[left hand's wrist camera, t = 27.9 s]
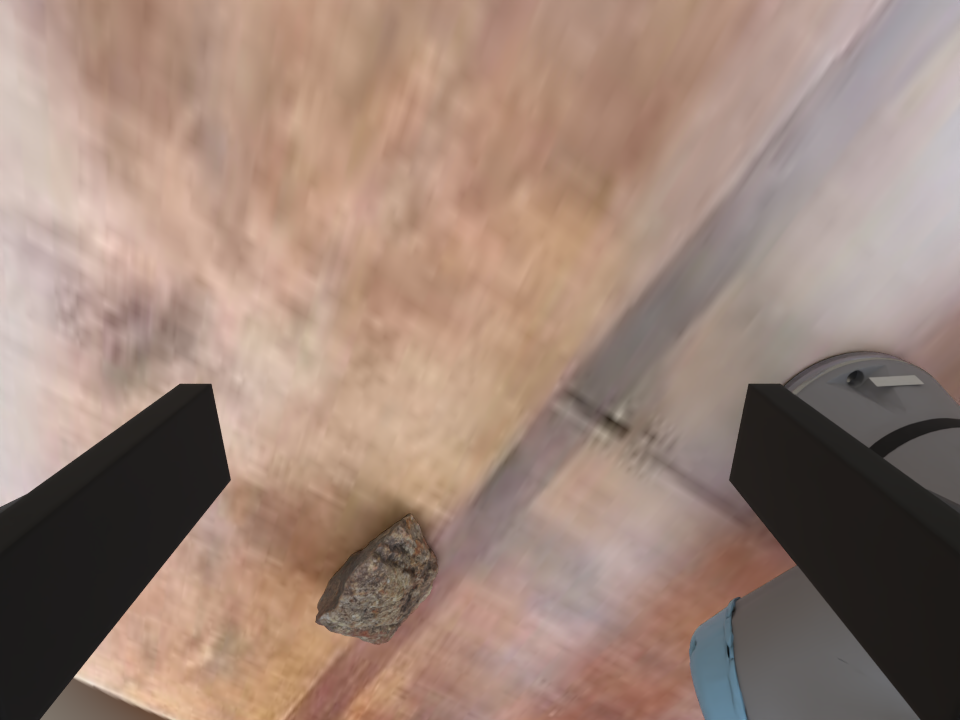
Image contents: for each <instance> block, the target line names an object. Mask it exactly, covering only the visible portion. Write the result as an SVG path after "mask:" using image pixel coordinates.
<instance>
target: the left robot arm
mask: <svg viewBox="0 0 960 720" xmlns="http://www.w3.org/2000/svg"><path fill="white" fill-rule="evenodd" d="M230 480H231V479H230V474H229V469H228V464H227V459H226V454H225V449H224V444H223V439H222V434H221V429H220V424H219V419H218V414H217V409H216V404H215V399H214V394H213V389H212V384H179V385H178V386H176V387H175V388H174V389H172V390H171V391H169V392H168V393H167V394H165V395H164V396H162V397H161V398H160V399H158V400H157V401H156V402H154V403H153V404H151V405H150V406H149V407H147V408H146V409H144V410H143V411H142V412H140V413H139V414H137V415H136V416H135V417H133V418H132V419H131V420H129V421H128V422H126V423H125V424H124V425H122V426H121V427H119V428H118V429H117V430H115V431H114V432H113V433H111V434H110V435H108V436H107V437H106V438H104V439H103V440H101V441H100V442H99V443H97V444H96V445H94V446H93V447H92V448H90V449H89V450H88V451H86V452H85V453H83V454H82V455H81V456H79V457H78V458H76V459H75V460H74V461H72V462H71V463H69V464H68V465H67V466H65V467H64V468H63V469H61V470H60V471H58V472H57V473H56V474H54V475H53V476H51V477H50V478H49V479H47V480H46V481H45V482H43V483H42V484H40V485H39V486H38V487H36V488H35V489H33V490H32V491H31V492H29V493H28V494H26V495H24V496H22V497H20V498H18V499H16V500H14V501H12V502H10V503H8V504H6V505H4V506H1V507H0V720H40V719H41V717H42V716H43V715H44V714H45V712H46V711H47V710H48V709H49V707H50V706H51V705H52V704H53V702H54V701H55V700H56V699H57V697H58V696H59V695H60V694H61V692H62V691H63V690H64V689H65V687H66V686H67V685H68V684H69V682H70V681H71V680H72V679H73V677H74V676H75V675H76V674H77V672H78V671H79V670H80V669H81V667H82V666H83V665H84V663H85V662H86V661H87V660H88V658H89V657H90V656H91V655H92V653H93V652H94V651H95V650H96V648H97V647H98V646H99V645H100V643H101V642H102V641H103V640H104V638H105V637H106V636H107V635H108V633H109V632H110V631H111V630H112V628H113V627H114V626H115V625H116V623H117V622H118V621H119V620H120V618H121V617H122V616H123V615H124V613H125V612H126V611H127V610H128V608H129V607H130V606H131V605H132V603H133V602H134V601H135V600H136V598H137V597H138V596H139V595H140V593H141V592H142V591H143V590H144V588H145V587H146V586H147V585H148V583H149V582H150V581H151V579H152V578H153V577H154V576H155V574H156V573H157V572H158V571H159V569H160V568H161V567H162V566H163V564H164V563H165V562H166V561H167V559H168V558H169V557H170V556H171V554H172V553H173V552H174V551H175V549H176V548H177V547H178V546H179V544H180V543H181V542H182V541H183V539H184V538H185V537H186V536H187V534H188V533H189V532H190V531H191V529H192V528H193V527H194V526H195V524H196V523H197V522H198V521H199V519H200V518H201V517H202V516H203V514H204V513H205V512H206V511H207V509H208V508H209V507H210V506H211V504H212V503H213V502H214V501H215V499H216V498H217V497H218V496H219V494H220V493H221V492H222V490H223V489H224V488H225V487H226V485H227V484H228V483H229V482H230ZM729 480H730V482H731V483H732V484H733V485H734V487H735V488H736V489H737V490H738V492H739V493H740V494H741V496H742V497H743V498H744V499H745V501H746V502H747V503H748V504H749V506H750V507H751V508H752V509H753V511H754V512H755V513H756V514H757V516H758V517H759V518H760V519H761V521H762V522H763V523H764V524H765V526H766V527H767V528H768V529H769V531H770V532H771V533H772V534H773V536H774V537H775V538H776V539H777V541H778V542H779V543H780V544H781V546H782V547H783V548H784V549H785V551H786V552H787V553H788V554H789V556H790V557H791V558H792V559H793V561H794V562H795V563H796V564H797V565H796V566H795V567H793V568H791V569H790V570H788V571H786V572H785V573H783V574H781V575H780V576H778V577H776V578H774V579H773V580H771V581H769V582H768V583H766V584H764V585H763V586H761V587H759V588H758V589H756V590H754V591H753V592H751V593H749V594H747V595H746V596H744V597H742V598H740V597H737V598H735V599H733V600H732V601H730V603H729V605H728V606H727V607H726V608H725V609H723V610H722V611H720V612H719V613H717V614H716V615H715V616H713V617H712V618H710V619H709V620H707V621H706V622H704V623H703V624H701V625H700V626H699V627H698V628H697V629H696V631H695V632H694V634H693V636H692V639H691V642H690V649H689V654H690V669H691V675H692V679H693V684H694V687H695V691H696V695H697V698H698V701H699V704H700V707H701V710H702V713H703V715H704V718H705V720H960V406H959V405H958V404H957V403H956V402H955V401H954V399H953V398H952V397H951V396H950V395H949V394H948V393H947V392H946V391H945V389H944V388H943V387H942V386H941V385H940V384H939V383H938V382H937V381H936V380H935V379H934V378H933V377H932V376H931V375H930V374H928V373H927V372H926V371H924V370H923V369H921V368H919V367H917V366H915V365H913V364H911V363H908V362H906V361H904V360H902V359H900V358H897V357H895V356H892V355H889V354H884V353H879V352H853V353H847V354H842V355H838V356H834V357H831V358H829V359H826V360H823V361H821V362H819V363H816V364H814V365H813V366H811V367H809V368H807V369H806V370H804V371H802V372H801V373H799V374H798V375H797V376H795V377H794V378H793V379H791V380H790V381H789V382H788V383H787V384H786V385H785V386H782V385H781V384H748V389H747V394H746V399H745V404H744V409H743V414H742V419H741V424H740V429H739V434H738V439H737V444H736V449H735V454H734V459H733V464H732V469H731V474H730V479H729Z"/></svg>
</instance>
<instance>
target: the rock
mask: <svg viewBox="0 0 960 720" xmlns="http://www.w3.org/2000/svg"><path fill="white" fill-rule="evenodd" d="M437 573H438V565H437V562H436V557H435V555H434V553H433V551H432V550H431V549H430V548H429V546H428V545H427V543H426V540H425V538H424V537H423V535H422V531H421V529H420V525H419V524H418V523H417V522H416V520H415V519H414V518H413V516H412V514H407V515H406V516H405V517H404V518H402V519H401V520H400V521H398V522H397V523H395V524H393V525H392V526H391V527H390V528H389V529H387V530H386V531H384V532H383V533H381V534H380V535H379V536H378V537H377V538H376V539H374V540H372V541H371V542H370V543H369V545H368V546H367V547H366V548H364V549H363V550H362V551H358V552H356V553H354V554H352V555H351V556H350V557H349V559H348V560H347V561H346V562H345V564H344V565H343V566H342V567H341V569H340V570H339V571H338V572H336V573H335V575H334V576H333V577H332V578H331V579H330V581H329V583H328V586H327V588H326V590H325V592H324V594H323V595H322V597H321V599H320V600H319V602H318V606H317V608H318V611H319V612H318V614H317V616H316V621H315V622H316V623H317V624H319V625H323V626H325V627H326V628H327V629H328V630H329V631H331V632H335V633H339V634H342V635H345V636H352V637H358V638H360V639H361V640H363V641H366V642H370V643H373V644H376V645H380V644H382V643H385V642H388V641H389V640H390V639H391V638H392V636H393V635H394V633H395V632H396V631H397V629H398V627H399V626H401V624H402V623H403V622H404V621H405V620H406V619H407V618H408V616H409V614H412V613H413V612H414V611H415V610H416V609H417V608H418V606H419V604H420V603H421V602H423V601H424V600H425V599H426V598H427V597H428V596H429V594H430V592H431V588H432V583H433V580H434V579H435V577H436V574H437Z"/></svg>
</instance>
